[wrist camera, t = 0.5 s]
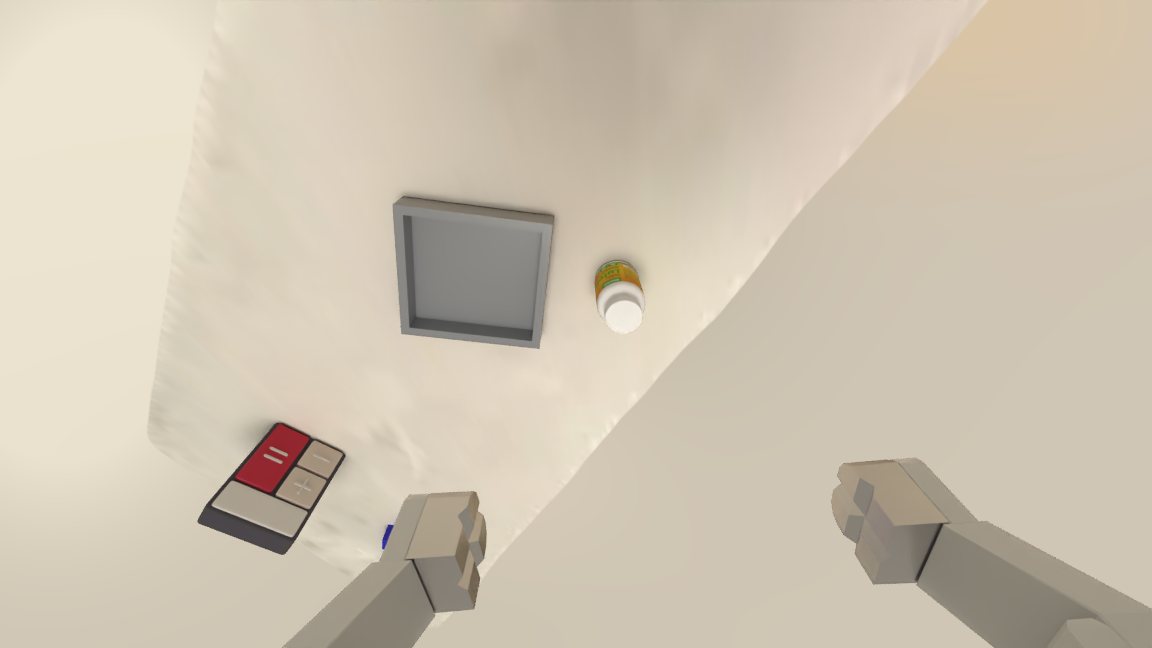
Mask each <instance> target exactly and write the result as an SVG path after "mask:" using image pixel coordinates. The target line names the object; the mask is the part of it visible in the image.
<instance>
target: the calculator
mask: <svg viewBox="0 0 1152 648" xmlns="http://www.w3.org/2000/svg"><path fill="white" fill-rule="evenodd" d="M344 458H345V455H344V454H343V453H341V452H339V451H337V450H334V449H332V448H330V447H328V446H326V445H324V444H322V443H320V442H317V441H315V440H313V439H311V438H309V437H307V436H305V435H302V434H300V433H298V432H296V431H294V430H292V429H290V428H288V427H285V426H283V425H281V424H279V423H277V424H275V425H274V426H273V427H272V428H271V429H270V431H269V432H268V433H267V434H266V435H265V436H264V438H263V439H262V440H261V441H260V442H259V443H258V445H257V446H256V447H255V448H254V449H253V451H252V452H251V453H250V454H249V455H248V456H247V458H246V459H245V460H244V461H243V462H242V463H241V465H240V466H239V467H238V468H237V469H236V470H235V472H234V473H233V474H232V475H231V476H230V477H229V479H228V480H227V481H226V482H225V483H224V484H223V486H222V487H221V488H220V489H219V490H218V492H217V493H216V494H215V495H214V496H213V498H212V499H211V500H210V501H209V502H208V503H207V504H206V506H205V508H204V510H203V512H202V513H201V515H200V517H199V519H198V523H199V524H202V525H204V526H207V527H209V528H212V529H215V530H217V531H220V532H223V533H225V534H228V535H230V536H233V537H236V538H238V539H241V540H244V541H246V542H249V543H252V544H254V545H257V546H259V547H262V548H265V549H268V550H270V551H273V552H275V553H278V554H281V555H283V554H285V553H286V552H287V551H288V549H289V548H290V547H291V546H292V544H293V543H294V541H295V540H296V538H297V537H298V535H299V533H300V532H301V530H302V528H303V527H304V525H305V523H306V522H307V520H308V518H309V517H310V515H311V513H312V512H313V510H314V508H315V507H316V505H317V503H318V502H319V500H320V498H321V497H322V495H323V493H324V492H325V490H326V488H327V487H328V485H329V483H330V481H331V480H332V478H333V476H334V475H335V473H336V471H337V470H338V468H339V466H340V465H341V463H342V461H343V460H344Z"/></svg>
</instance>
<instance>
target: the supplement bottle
mask: <svg viewBox="0 0 1152 648" xmlns="http://www.w3.org/2000/svg"><path fill="white" fill-rule="evenodd" d="M595 291H596V302H597V309H598V313H599V315H600V316H601V318H602V319H603V320H604V321H605V322H606V324H607V326H608V327H609V328H610V329H611V330H613V331H615V332H617V333H629V332H631V331H633V330H635V329H636V328H637V327H638V326H639V325H640V324H641V321H642V318H643V312H644V309H645V297H644V294H643V291H642V288H641V284H640V281H639V278H638V275H637V272H636V271H635V269H634V268H633V267H632V266H631V265H630V264H628V263H626V262H623V261H612V262H609V263H606V264H605V265H603V266H602V267H601V268H600V269H599V270H598V272H597V274H596V277H595Z"/></svg>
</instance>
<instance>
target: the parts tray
mask: <svg viewBox="0 0 1152 648" xmlns="http://www.w3.org/2000/svg"><path fill="white" fill-rule="evenodd" d="M393 218H394V232H395V247H396V261H397V276H398V290H399V305H400V319H401V333H402V334H407V335H416V336H426V337H435V338H444V339H453V340H463V341H472V342H481V343H490V344H500V345H509V346H518V347H527V348H537V349H539V347H540V339H541V331H542V322H543V312H544V303H545V294H546V285H547V276H548V266H549V257H550V248H551V239H552V230H553V220H554V216H551V215H543V214H535V213H528V212H520V211H512V210H504V209H497V208H489V207H481V206H473V205H466V204H458V203H450V202H442V201H435V200H427V199H419V198H411V197H402V198H401V199H399V200H398V201H397V202H395V203H394V204H393Z"/></svg>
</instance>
